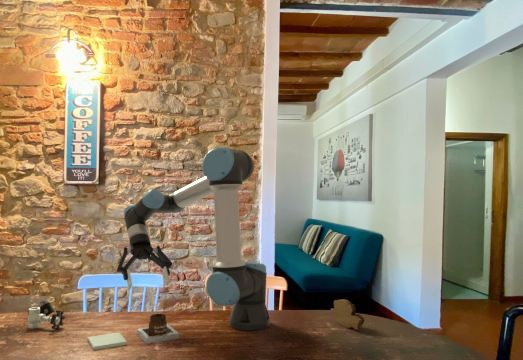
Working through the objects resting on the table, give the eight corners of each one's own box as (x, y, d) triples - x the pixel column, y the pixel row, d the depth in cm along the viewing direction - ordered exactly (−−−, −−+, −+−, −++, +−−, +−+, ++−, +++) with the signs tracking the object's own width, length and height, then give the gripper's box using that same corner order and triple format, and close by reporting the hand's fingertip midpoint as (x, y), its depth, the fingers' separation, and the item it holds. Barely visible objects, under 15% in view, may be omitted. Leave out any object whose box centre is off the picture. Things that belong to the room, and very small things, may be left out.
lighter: (31, 325, 160) (24, 312, 160) (34, 323, 162) (27, 310, 162) (52, 312, 160) (44, 299, 160) (54, 311, 162) (47, 298, 163)
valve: (21, 329, 147) (52, 332, 145) (22, 310, 148) (52, 313, 145) (35, 323, 154) (64, 326, 151) (36, 305, 154) (65, 308, 152)
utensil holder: (144, 336, 143) (145, 300, 143) (160, 332, 147) (161, 297, 148) (154, 340, 139) (155, 303, 139) (170, 336, 143) (171, 300, 144)
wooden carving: (368, 332, 153) (368, 304, 154) (359, 334, 151) (359, 305, 151) (335, 320, 167) (336, 294, 167) (327, 322, 164) (327, 295, 165)
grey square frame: (167, 329, 151) (167, 324, 151) (178, 338, 141) (179, 333, 141) (137, 334, 145) (137, 328, 145) (146, 344, 136) (146, 338, 136)
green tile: (119, 335, 143) (119, 332, 143) (126, 344, 135) (126, 341, 135) (87, 340, 138) (87, 336, 138) (93, 350, 130) (93, 346, 130)
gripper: (167, 243, 174) (179, 287, 161) (103, 246, 161) (111, 294, 148) (172, 231, 170) (185, 276, 157) (107, 233, 157) (115, 282, 144)
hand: (149, 285), depth 152 cm, fingers open, 13 cm apart
